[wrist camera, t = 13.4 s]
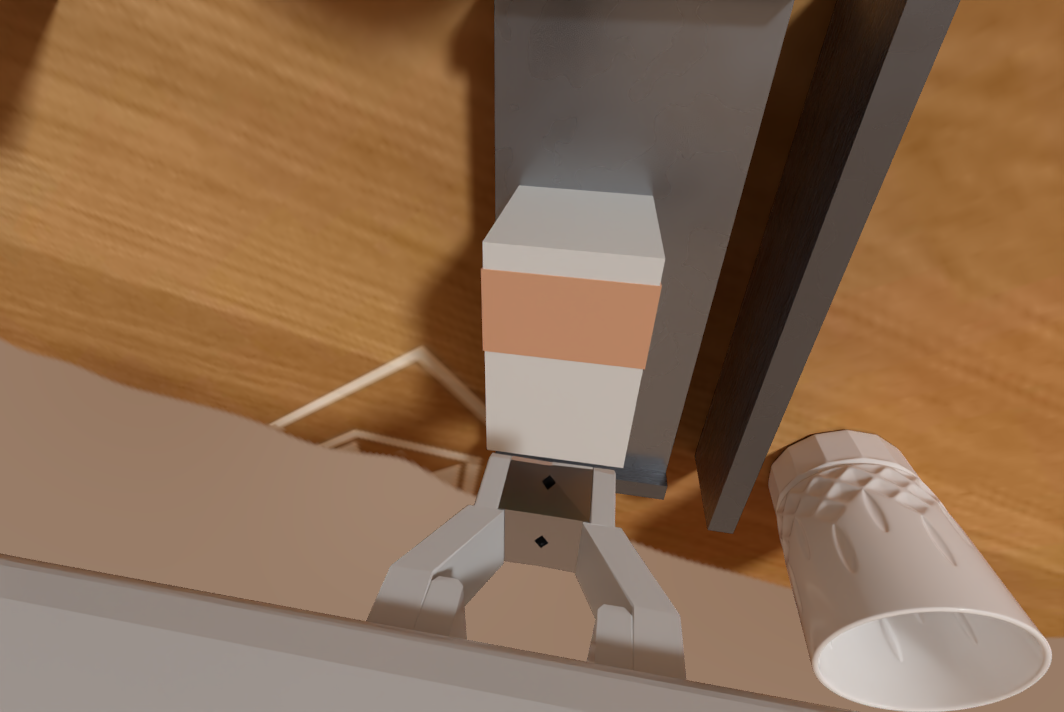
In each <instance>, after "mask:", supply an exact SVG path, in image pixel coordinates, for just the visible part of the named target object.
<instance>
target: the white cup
mask: <svg viewBox="0 0 1064 712" xmlns="http://www.w3.org/2000/svg"><path fill="white" fill-rule="evenodd" d="M768 487H769V491H770V495H771V498H772V502H773V506H774V509H775V513H776V516H777V525H778V532H779V537H780V541H781V545H782V548H783V551H784V558H785V564H786V568H787V572H788V575H789V579H790V583H791V587H792V591H793V595H794V598H795V602H796V606H797V610H798V614H799V618H800V622H801V626H802V630H803V633H804V637H805V641H806V645H807V649H808V653H809V657H810V661H811V665H812V669H813V672H814V674H815V676H816V677H817V679H818V680H819V681H820V682H821V683H822V684H823V685H824V686H825V687H826V688H828V689H829V690H831V691H832V692H834V693H835V694H837V695H839V696H841V697H843V698H845V699H848V700H851V701H853V702H856V703H859V704H863V705H867V706H871V707H875V708H881V709H887V710H895V711H906V712H942V711H953V710H962V709H968V708H974V707H979V706H982V705H987V704H991V703H994V702H998V701H1001V700H1003V699H1006V698H1009V697H1011V696H1014V695H1016V694H1018V693H1020V692H1022V691H1024V690H1025V689H1027V688H1029V687H1030V686H1032V685H1033V684H1035V683H1036V682H1037V681H1038V680H1040V679H1041V678H1042V677H1043V676H1044V674H1045V673H1046V672H1047V670H1048V668H1049V667H1050V664H1051V661H1052V651H1051V648H1050V645H1049V643H1048V642H1047V640H1046V639H1045V637H1044V636H1043V635H1042V633H1041V632H1040V631H1039V630H1038V628H1037V627H1036V626H1035V624H1034V623H1033V622H1032V620H1031V619H1030V618H1029V616H1028V615H1027V614H1026V612H1025V611H1024V610H1023V609H1022V607H1021V606H1020V605H1019V603H1018V602H1017V601H1016V599H1015V598H1014V597H1013V595H1012V594H1011V593H1010V591H1009V590H1008V589H1007V587H1006V586H1005V585H1004V583H1003V582H1002V581H1001V579H1000V578H999V577H998V575H997V574H996V573H995V571H994V570H993V569H992V567H991V566H990V565H989V564H988V562H987V561H986V560H985V558H984V557H983V556H982V554H981V553H980V552H979V550H978V549H977V548H976V546H975V545H974V544H973V542H972V541H971V540H970V538H969V537H968V536H967V534H966V533H965V532H964V530H963V529H962V528H961V527H960V525H959V524H958V523H957V522H956V521H955V520H954V518H953V517H952V516H951V515H950V514H949V513H948V511H947V510H946V508H945V507H944V506H943V504H942V503H941V501H940V500H939V499H938V498H937V496H936V495H935V494H934V493H933V492H932V491H931V490H930V489H929V488H928V487H927V486H926V485H925V484H924V483H923V482H922V481H921V479H920V478H919V476H918V475H917V474H916V472H915V471H914V470H913V468H912V467H911V465H910V464H909V463H908V461H907V460H906V459H905V457H904V456H903V455H902V453H901V452H900V451H899V449H897V448H896V447H894V446H893V445H891V444H890V443H888V442H887V441H885V440H884V439H882V438H881V437H879V436H878V435H875V434H869V433H863V432H857V431H851V430H841V431H834V432H827V433H820V434H815V435H812V436H810V437H808V438H806V439H804V440H802V441H799V442H797V443H795V444H793V445H791V446H789V447H788V448H787V449H786V450H785V451H784V452H783V453H782V454H781V455H780V456H779V457H778V458H777V460H776V461H775V462H774V463H773V464H772V465H771V470H770V476H769V481H768Z"/></svg>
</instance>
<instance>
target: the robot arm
mask: <svg viewBox="0 0 1064 712" xmlns="http://www.w3.org/2000/svg"><path fill="white" fill-rule="evenodd" d="M615 487H616V473H615V471H614V470H610V469H602V468H595V467H594V468H593V467H587V466H580V465H572V464H564V463H557V462H547V461H541V460H535V459H529V458H523V457H517V456H509V455H503V454H497V453H492V454H491V455H490V457H489V460H488V463H487V466H486V469H485V472H484V475H483V479H482V482H481V485H480V488H479V491H478V494H477V497H476V501H475V504H474V505H467V506H466V507H465V508H463V509H462V510H461V511H459V512H458V513H457V514H455V515H454V516H453V517H452V518H451V519H449V520H448V521H447V522H445V523H444V524H443V525H442V526H440V527H439V528H438V529H436V530H435V531H434V532H433V533H432V534H430V535H429V536H428V537H426V538H425V539H424V540H423V541H421V542H420V543H419V544H417V545H416V546H415V547H414V548H412V549H411V550H410V551H409V552H407V553H406V554H405V555H404V556H402V557H401V558H400V559H398V560H397V561H396V562H395V563H393V564H392V565H391V566H390V568H389V571H388V573H387V575H386V577H385V580H384V582H383V585H382V586H381V589H380V591H379V593H378V596H377V598H376V600H375V602H374V605H373V607H372V609H371V611H370V614H369V616H368V618H367V620H366V621H361V620H356V619H351V618H346V617H340V616H335V615H329V614H324V613H318V612H313V611H308V610H302V609H297V608H291V607H286V606H280V605H274V604H270V603H264V602H259V601H253V600H248V599H242V598H237V597H232V596H226V595H221V594H215V593H210V592H204V591H199V590H194V589H188V588H183V587H177V586H172V585H167V584H161V583H156V582H151V581H145V580H140V579H134V578H128V577H123V576H118V575H113V574H107V573H102V572H96V571H91V570H85V569H80V568H75V567H69V566H63V565H58V564H53V563H47V562H42V561H36V560H31V559H26V558H21V557H16V556H10V555H6V554H0V712H857V711H851V710H846V709H841V708H836V707H830V706H825V705H819V704H814V703H808V702H803V701H797V700H792V699H787V698H781V697H776V696H770V695H765V694H759V693H754V692H748V691H743V690H738V689H732V688H727V687H721V686H716V685H711V684H705V683H699V682H694V681H689V680H686V671H685V662H684V651H683V640H682V630H681V620H680V615H679V613H678V612H677V610H676V609H675V608H674V606H673V604H672V603H671V601H670V600H669V598H668V597H667V595H666V594H665V593H664V591H663V590H662V588H661V587H660V585H659V584H658V582H657V581H656V579H655V578H654V576H653V575H652V573H651V572H650V570H649V569H648V567H647V566H646V564H645V563H644V561H643V560H642V558H641V557H640V555H639V554H638V552H637V551H636V549H635V548H634V546H633V545H632V543H631V542H630V540H629V539H628V538H627V536H626V535H625V533H624V532H623V530H622V529H621V528H617V527H615ZM504 561H508V562H514V563H521V564H529V565H537V566H542V567H548V568H553V569H558V570H563V571H568V572H574V573H575V575H576V578H577V579H578V582H579V584H580V586H581V588H582V591H583V593H584V595H585V597H586V599H587V602H588V604H589V606H590V608H591V611H592V612H593V615H594V617H595V619H596V620H595V625H594V629H593V635H592V639H591V644H590V648H589V653H588V658H587V662H585V661H580V660H575V659H569V658H564V657H558V656H553V655H547V654H542V653H536V652H531V651H525V650H520V649H514V648H509V647H504V646H498V645H493V644H487V643H482V642H476V641H470V640H467V637H466V622H465V606H466V604H467V603H468V602H469V601H470V600H471V599H472V598H473V597H474V596H475V594H476V593H477V592H478V591H479V590H480V589H481V588H482V587H483V586H484V584H485V583H486V582H487V581H488V580H489V579H490V578H491V577H492V576H493V575H494V573H495V572H496V571H497V570H498V569H499V568H500V567H501V566H502V565H503V563H504Z"/></svg>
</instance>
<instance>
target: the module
mask: <svg viewBox="0 0 1064 712" xmlns="http://www.w3.org/2000/svg"><path fill="white" fill-rule="evenodd" d="M482 244H483V266H482V268H481V295H482V338H483V351H485V389H486V437H487V450H494V451H501V452H508V453H516V454H523V455H530V456H538V457H545V458H552V459H560V460H567V461H575V462H582V463H589V464H597V465H604V466H611V467H619V468H623V466H624V461H625V456H626V451H627V446H628V442H629V437H630V432H631V427H632V422H633V417H634V412H635V407H636V402H637V397H638V392H639V387H640V382H641V377H642V372H643V369H645V367H646V362H647V357H648V352H649V347H650V342H651V337H652V332H653V328H654V323H655V318H656V313H657V308H658V303H659V298H660V293H661V288H662V285H661V278H662V273H663V268H664V263H665V255H664V249H663V244H662V239H661V234H660V229H659V224H658V219H657V214H656V209H655V203H654V198H653V196H649V195H636V194H623V193H610V192H598V191H585V190H572V189H560V188H547V187H534V186H521V185H519V186H518V188H517V189H516V191H515V193H514V194H513V196H512V197H511V199H510V200H509V202H508V203H507V205H506V206H505V208H504V210H503V211H502V213H501V214H500V216H499V217H498V219H497V220H496V222H495V223H494V225H493V226H492V228H491V230H490V231H489V233H488V234H487V236H486V237H485V239H484V240H483V242H482Z"/></svg>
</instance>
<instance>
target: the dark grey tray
mask: <svg viewBox="0 0 1064 712" xmlns="http://www.w3.org/2000/svg"><path fill="white" fill-rule="evenodd" d="M959 2H960V0H837V2H836V5H835V9H834V12H833V15H832V18H831V21H830V25H829V28H828V31H827V34H826V37H825V41H824V44H823V47H822V50H821V53H820V57H819V60H818V63H817V66H816V69H815V73H814V76H813V79H812V82H811V85H810V89H809V92H808V95H807V98H806V101H805V105H804V108H803V111H802V114H801V118H800V121H799V124H798V127H797V130H796V134H795V137H794V140H793V143H792V146H791V150H790V153H789V156H788V159H787V162H786V166H785V169H784V172H783V175H782V178H781V182H780V185H779V188H778V191H777V194H776V198H775V201H774V204H773V207H772V210H771V214H770V217H769V220H768V223H767V226H766V230H765V233H764V236H763V239H762V242H761V246H760V249H759V252H758V255H757V258H756V262H755V265H754V268H753V271H752V274H751V278H750V281H749V284H748V287H747V290H746V294H745V297H744V300H743V303H742V306H741V310H740V313H739V316H738V319H737V322H736V326H735V329H734V332H733V335H732V339H731V342H730V345H729V348H728V351H727V355H726V358H725V361H724V364H723V367H722V371H721V374H720V377H719V380H718V383H717V387H716V390H715V393H714V396H713V399H712V403H711V406H710V409H709V412H708V415H707V419H706V422H705V425H704V428H703V431H702V435H701V438H700V441H699V444H698V447H697V451H696V454H695V461H696V466H697V472H698V478H699V484H700V489H701V495H702V501H703V507H704V512H705V518H706V524H707V529H708V530H712V531H718V532H725V533H732V534H733V532H734V530H735V528H736V525H737V523H738V521H739V518H740V516H741V514H742V511H743V509H744V507H745V504H746V502H747V500H748V497H749V495H750V493H751V490H752V488H753V485H754V483H755V481H756V478H757V476H758V474H759V471H760V469H761V467H762V464H763V462H764V460H765V457H766V455H767V453H768V450H769V448H770V446H771V443H772V441H773V439H774V436H775V434H776V432H777V429H778V427H779V424H780V422H781V420H782V417H783V415H784V413H785V410H786V408H787V406H788V403H789V401H790V399H791V396H792V394H793V392H794V389H795V387H796V385H797V382H798V380H799V378H800V375H801V373H802V371H803V368H804V366H805V363H806V361H807V359H808V356H809V354H810V352H811V349H812V347H813V345H814V342H815V340H816V338H817V335H818V333H819V331H820V328H821V326H822V324H823V321H824V319H825V317H826V314H827V312H828V310H829V307H830V305H831V302H832V300H833V298H834V295H835V293H836V291H837V288H838V286H839V284H840V281H841V279H842V277H843V274H844V272H845V270H846V267H847V265H848V263H849V260H850V258H851V256H852V253H853V251H854V249H855V246H856V244H857V241H858V239H859V237H860V234H861V232H862V230H863V227H864V225H865V223H866V220H867V218H868V216H869V213H870V211H871V209H872V206H873V204H874V202H875V199H876V197H877V195H878V192H879V190H880V188H881V185H882V183H883V181H884V178H885V176H886V173H887V171H888V169H889V166H890V164H891V162H892V159H893V157H894V155H895V152H896V150H897V148H898V145H899V143H900V141H901V138H902V136H903V134H904V131H905V129H906V127H907V124H908V122H909V120H910V117H911V115H912V112H913V110H914V108H915V105H916V103H917V101H918V98H919V96H920V94H921V91H922V89H923V87H924V84H925V82H926V80H927V77H928V75H929V73H930V70H931V68H932V66H933V63H934V61H935V59H936V56H937V54H938V51H939V49H940V47H941V44H942V42H943V40H944V37H945V35H946V33H947V30H948V28H949V26H950V23H951V21H952V19H953V16H954V14H955V12H956V9H957V7H958V5H959ZM793 3H794V0H494V39H495V222H496V220H497V219H498V217H499V216H500V214H501V213H502V211H503V210H504V208H505V206H506V205H507V203H508V202H509V200H510V199H511V197H512V196H513V194H514V193H515V191H516V189H517V188H518V186H519V185H521V186H534V187H547V188H560V189H572V190H585V191H598V192H610V193H623V194H636V195H649V196H653V198H654V203H655V209H656V214H657V219H658V224H659V229H660V234H661V239H662V244H663V249H664V255H665V263H664V268H663V273H662V278H661V285H662V288H661V293H660V298H659V303H658V308H657V313H656V318H655V323H654V328H653V332H652V337H651V342H650V347H649V352H648V357H647V362H646V367H645V369H643V372H642V377H641V382H640V387H639V392H638V397H637V402H636V407H635V412H634V417H633V422H632V427H631V432H630V437H629V442H628V446H627V451H626V456H625V461H624V466H623V468H619V467H611V466H604V465H597V464H589V463H582V462H575V461H567V460H560V459H552V458H545V457H538V456H530V455H523V454H516V453H508V452H501V451H496V453H497V454H503V455H509V456H517V457H523V458H529V459H535V460H541V461H547V462H557V463H564V464H572V465H580V466H587V467H593V468H594V467H595V468H602V469H610V470H614V471H615V473H616V487H615V493H620V494H627V495H634V496H641V497H648V498H655V499H662V500H664V497H665V493H666V489H667V479H666V469H667V466H668V462H669V458H670V455H671V451H672V447H673V444H674V440H675V436H676V433H677V429H678V425H679V422H680V418H681V414H682V411H683V407H684V403H685V400H686V396H687V392H688V389H689V385H690V381H691V378H692V374H693V370H694V367H695V363H696V359H697V356H698V352H699V348H700V345H701V341H702V337H703V334H704V330H705V326H706V323H707V319H708V315H709V312H710V308H711V304H712V301H713V297H714V293H715V290H716V286H717V282H718V279H719V275H720V271H721V268H722V264H723V260H724V257H725V253H726V249H727V246H728V242H729V238H730V235H731V231H732V227H733V224H734V220H735V216H736V213H737V209H738V205H739V202H740V198H741V194H742V191H743V187H744V183H745V180H746V176H747V172H748V169H749V165H750V161H751V158H752V154H753V150H754V147H755V143H756V139H757V135H758V132H759V128H760V124H761V121H762V117H763V113H764V110H765V106H766V102H767V99H768V95H769V91H770V88H771V84H772V80H773V77H774V73H775V69H776V66H777V62H778V58H779V55H780V51H781V47H782V44H783V40H784V36H785V33H786V29H787V25H788V22H789V18H790V14H791V11H792V7H793Z"/></svg>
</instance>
